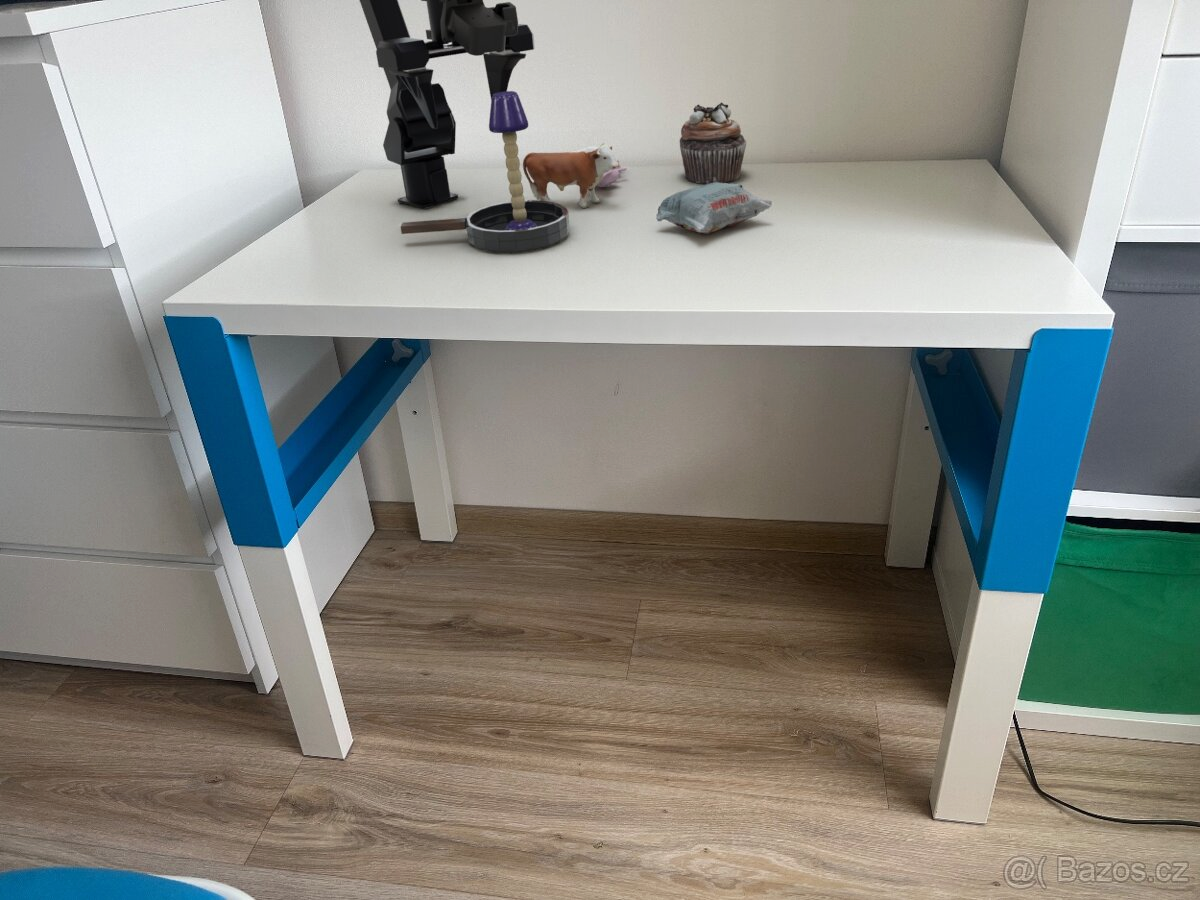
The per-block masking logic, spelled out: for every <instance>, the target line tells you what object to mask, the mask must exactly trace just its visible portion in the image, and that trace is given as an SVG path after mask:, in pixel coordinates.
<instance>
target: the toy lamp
mask: <svg viewBox="0 0 1200 900" xmlns="http://www.w3.org/2000/svg"><path fill="white" fill-rule="evenodd" d="M526 115H527V114H526V112H525V109H524V106H523V104H522V102H521V98H520V97H519V94H518V92H516V91H513V90H507V91H505V92H498V93H495V94H493V96H492V100H491V99H490V110H489V121H488V130H489V132H490V133H493V134H501V138H502V141H503V143H504V146H503V152H504V156H505V157H506V158H505V167H506V169H507V172H506V174H507V175H506V177H507V181H508V183H509V185H508V191H509V194H510V201H511V204H512V207H513V217H514V219H515V220H512V221H511V222H510V223H508V225H507V227H506V229H505V230H521V229H529V228H534V227H537V226H536V224H535V223H534V222H533V221H531V220H529V219H526V217H527V212H526V209H525V208H524V206H525V200H526V199H525V196H524V195H523V194H524V185H523V182H522V180H523V179H522V178H523V176H522V172H521V170H520V166H521V162H520V158H519V156H518V155H519V146H518V144H517V141H518V135H517V132H521V131H524V130H527V129H528V128H529V121H528V118H527V116H526Z"/></svg>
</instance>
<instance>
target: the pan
mask: <svg viewBox="0 0 1200 900" xmlns="http://www.w3.org/2000/svg"><path fill="white" fill-rule="evenodd" d="M524 208H525V209H526V212H527V217H526V219H529V220H531V221H533V222H534V223H535V224H536V226H537V227H534V228H529V229H521V230H505V229H506V227H507V225H508V223H510V222H511V221H512V220H515V219H514V217H513V207H512V204H511V200H510V201H503V202H498V203H493V204H490V205H486V206H483V207H480V208H477V209H475V210H473V211H471V212H469V213H468V214H467V216H466V217H464V218H465V224H466V229H465V231H466V238H467V242H468V243H469V244H471V245H473V247H475V248H477V249H478V250H481V251H483V252H489V253H496V254H520V253H528V252H534V251H539V250H543V249H547V248H549V247H552V246H555V245H556V244H558V243H560V242H561V241H563V240H564V239H565V237H567V236H568V235H569V232H570V230H571V228H570V215H569V211H568V209H567V207H566V206H564V205H562V204H560V203H557V202H553V201H552V202H548V201H540V200H537V199H528V200H527V199H525V206H524Z"/></svg>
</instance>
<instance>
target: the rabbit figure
mask: <svg viewBox="0 0 1200 900" xmlns="http://www.w3.org/2000/svg"><path fill="white" fill-rule="evenodd" d="M602 145H606V143H604V142H603V143H601V145H600V146H599V148H600V147H601V146H602ZM616 162H618V163H619V167H618V168H617V169H615V170H610V171H609V172H607V173H604V176H603V178H602V180H601V181H600V182H599V183H598V185H597V186H598V187H600V188H601V189H602V188H606V187H607V186H608V185H609V184H612V183H615V182H616V181H617V180H618V179H619V177H620V173H621V172H626V171H627V167H625V166H622V167H621V164H620V159H617V160H616Z"/></svg>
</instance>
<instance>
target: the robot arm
mask: <svg viewBox="0 0 1200 900" xmlns="http://www.w3.org/2000/svg"><path fill="white" fill-rule="evenodd" d="M420 1H421V2H426V8H427V15H428V21H429V29H425V36H426V39H427V40H430V41H424V39H420V38H413V37H411V35H410V32H409V29H408V27H407V24H406V23H407V22H406V20H405V17H404V15H403V12H402V9H401V5H400V3H399V1H398V0H359V3H360V6H361V8H362V11H363V14H364V17H365V20H366V23H367V26H368V28H369V31H370V34H371V38H372V40H373V43H374V47H375V49H376V51H375V54H376V59H377V65H378V68H382V69H383V72H384V75H385V77H386V80H387V83H388V87H389V89H390V93H389V98H388V102H387V106H386V107H387V108H386V116H387V119H388V120H387V121H388V125H387V129H386V133H385V137H384V141H383V144H382V147H383V150H384V153H385V156H386V159H387V161H389V162H391V163H394V164H396V165H399V166H400V170H401V176H402V181H403V187H404V193H405V195H404V196H401V197H398V198H397V203H399V204H403V205H407V206H411V207H415V208H419V209H428V208H431V207H434V206H438V205H441V204H443V203H447V202H450V201H453V200H456V199H459V194H458V193H456V192H455V193H454V192H451V190H450V183H449V177H448V170H447V168H446V163H445V157H444V156H448V155H455V154H456V131H457V130H456V129H457V127H456V126H457V122H456V120H455V117H454V114H453V112H452V109H451V108H450V106H449V103H448V101H447V98H446V94H445V93H446V92H445V90H444V88H443V87H442V85H441V84H440V83H439V82H436V83H432V81H433V80H432V79H433V75H434V69H431V68H427V64H429V61H430V59H435V58H442V57H449V56H450V57H451V56H455V55H462V54H468V55H471V56H477V57H480V56H483V63H484V67H485V72H486V79H487V84H488V90H489V96H490V101H491V100H492V96H493V94H495V93H498V92H505V91H508V88H509V83H510V79H511V77H512V73H513V71H514V69H515V67H516V66H517V64H518V63H519V62H520V61H521V60H524V59H526V57H527V53H526V52H528V51H533V50H535V39H534V37H535V36H534V33H533V31H532V29H531V28H530V26H529V25H528V24H525V23H519V19H518V18H519V17H518V12H517V6H516V5H515V4H513V3H512V2H510V1H508V2H507V1H506V2H499V3H496V4H495V6H492V7H487V6H486V5H485V2H484V0H420ZM523 52H525V53H523Z"/></svg>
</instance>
